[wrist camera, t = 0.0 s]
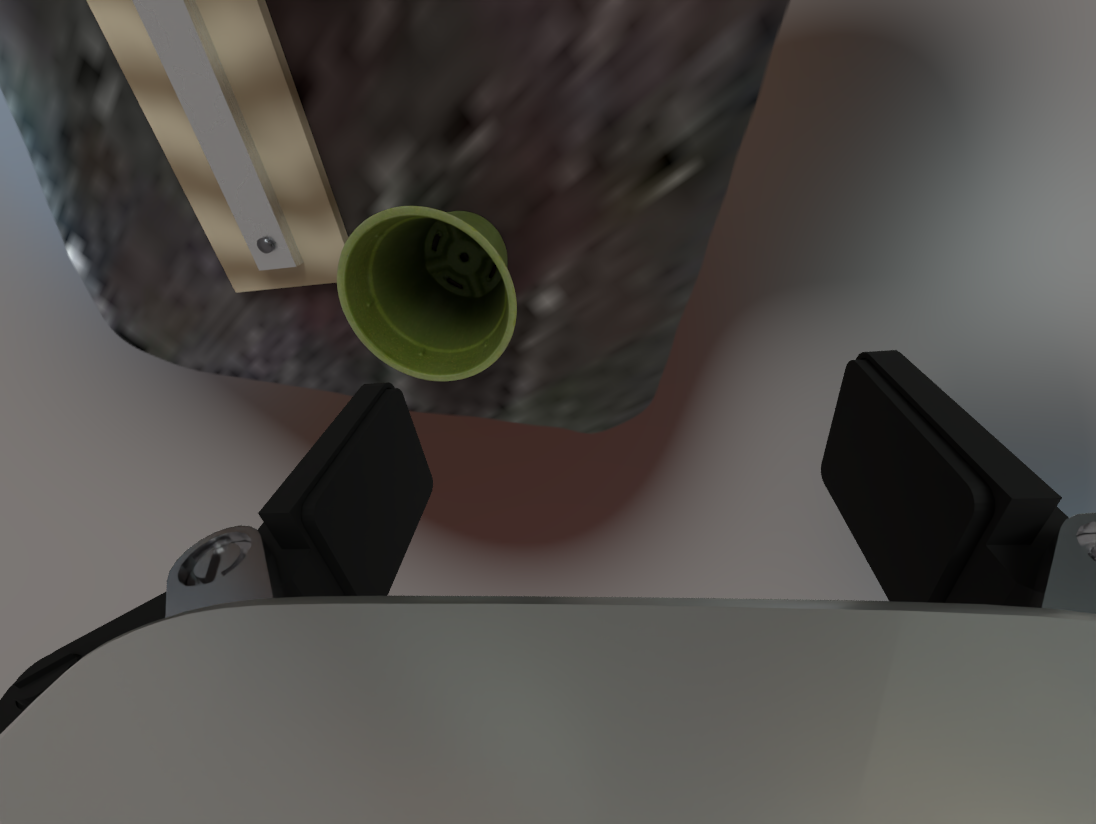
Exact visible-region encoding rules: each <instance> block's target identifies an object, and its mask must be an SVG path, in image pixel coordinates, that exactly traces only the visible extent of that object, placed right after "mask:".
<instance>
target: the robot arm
mask: <svg viewBox="0 0 1096 824" xmlns="http://www.w3.org/2000/svg"><path fill="white" fill-rule="evenodd" d="M821 475H822V479H823V482H824V484H825V486H826V487H827V489H828V491H829V493H830V495H831V496H832V498H833V500H834V502H835V504H836V505H837V507H838V509H839V511H840V513H841V515H842V516H843V518H844V520H845V522H846V524H847V526H848V527H849V529H850V531H851V533H852V534H853V536H854V538H855V540H856V542H857V544H858V545H859V547H860V549H861V551H862V553H863V554H864V556H865V558H866V560H867V562H868V563H869V565H870V567H871V569H872V571H873V572H874V574H875V576H876V578H877V580H878V581H879V583H880V585H881V587H882V589H883V590H884V592H885V594H886V596H887V598H888V600H889V601H852V600H788V599H722V598H721V599H720V598H641V597H637V598H636V597H539V596H538V597H537V596H532V597H531V596H530V597H529V596H387V595H388V593H389V591H390V588H391V586H392V584H393V581H394V579H395V577H396V574H397V572H398V570H399V567H400V565H401V563H402V560H403V558H404V555H405V553H406V551H407V548H408V546H409V544H410V542H411V539H412V537H413V535H414V532H415V530H416V528H417V525H418V523H419V520H420V518H421V516H422V514H423V511H424V509H425V507H426V504H427V502H428V499H429V497H430V495H431V492H432V488H433V480H432V475H431V473H430V470H429V467H428V464H427V461H426V458H425V455H424V453H423V450H422V447H421V444H420V441H419V438H418V436H417V433H416V430H415V427H414V424H413V421H412V419H411V416H410V413H409V410H408V407H407V404H406V401H405V399H404V396H403V393H402V391H401V390H400V389H398V388H394V386H393V385H392V384H391V383H375V384H364V385H363V386H362V387H361V388H360V389H359V390H358V391H357V393H356V394H355V395H354V396H353V397H352V399H351V400H350V401H349V402H348V404H347V405H346V406H345V407H344V409H343V410H342V411H341V412H340V413H339V415H338V416H337V417H336V418H335V420H334V421H333V422H332V423H331V424H330V426H329V427H328V428H327V429H326V431H325V432H324V433H323V434H322V436H321V437H320V438H319V439H318V441H317V442H316V443H315V444H314V445H313V447H312V448H311V449H310V450H309V452H308V453H307V454H306V455H305V457H304V458H303V459H302V460H301V461H300V463H299V464H298V465H297V466H296V467H295V469H294V470H293V471H292V473H291V474H290V475H289V476H288V477H287V478H286V480H285V481H284V482H283V483H282V485H281V486H280V487H279V488H278V490H277V491H276V492H275V493H274V494H273V496H272V497H271V498H270V499H269V501H268V502H267V503H266V504H265V505H264V507H263V508H262V509H261V511H260V512H259V515H260V517H261V518H262V520H263V521H264V523H263V524H262V525H261V526H260V528H259V529H258V530H257V529H255V528H253V527H250V526H234V527H229V528H226V529H223V530H220V531H217V532H215V533H213V534H211V535H209V536H207V537H205V538H203V539H201V540H200V541H198V542H197V543H196V544H194V545H193V546H192V547H190V548H189V549H188V550H186V551H185V552H184V553H183V555H182V556H181V557H179V559H177V561H176V562H175V564H174V565H173V567H172V568H171V570H170V571H169V575H168V579H167V591H166V592H165V593H163V594H161V595H159V596H157V597H155V598H154V599H152V600H150V601H148V602H146V603H144V604H142V605H140V606H138V607H137V608H135V609H133V610H131V611H129V612H127V613H125V614H124V615H122V616H120V617H118V618H116V619H114V620H112V621H111V622H109V623H107V624H105V625H103V626H101V627H99V628H97V629H95V630H94V631H92V632H90V633H88V634H86V635H84V636H82V637H81V638H79V639H77V640H75V641H73V642H71V643H69V644H67V645H66V646H64V647H62V648H60V649H58V650H56V651H55V652H53V653H52V654H50V655H48V656H46V657H44V658H42V659H40V660H39V661H37V662H36V663H34V664H33V665H32V666H30V667H29V668H28V669H27V670H26V671H25V672H24V673H23V674H22V675H21V676H20V677H19V678H18V679H17V681H16V682H15V683H14V684H13V685H12V686H11V687H10V688H9V689H8V690H7V692H6V693H5V694H4V696H3V697H2V698H1V700H0V824H1096V513H1085V514H1077V515H1075V516H1072V517H1070V518H1068V516H1066V515H1065V514H1064V513H1063V512H1062V511H1061V510H1060V509H1059V508H1058V507H1057V504H1058V503H1059V502H1060V500H1061V499H1062V497H1061V496H1059V495H1058V494H1057V493H1056V492H1055V491H1054V490H1053V489H1052V488H1050V487H1049V486H1048V485H1047V484H1046V483H1045V482H1044V481H1043V480H1041V478H1039V477H1038V476H1037V475H1036V474H1035V473H1034V472H1033V471H1032V470H1030V469H1029V468H1028V467H1027V466H1026V465H1025V464H1024V463H1023V462H1022V461H1020V460H1019V459H1018V458H1017V457H1016V456H1015V455H1014V454H1013V453H1012V452H1010V451H1009V450H1008V449H1007V448H1006V447H1005V446H1004V445H1003V444H1001V443H1000V442H999V441H998V440H997V439H996V438H995V437H994V436H993V435H991V434H990V433H989V432H988V431H987V430H986V429H985V428H984V427H983V426H981V425H980V424H979V423H978V422H977V421H976V420H975V419H974V418H972V417H971V416H970V415H969V414H968V413H967V412H966V411H965V410H964V409H962V408H961V407H960V406H959V405H958V404H957V403H956V402H955V401H954V400H952V399H951V398H950V397H949V396H948V395H947V394H946V393H945V392H943V391H942V390H941V389H940V388H939V387H938V386H937V385H936V384H934V383H933V382H932V381H931V380H930V379H929V378H928V377H927V376H926V375H925V374H923V373H922V372H921V371H920V370H919V369H918V368H917V367H916V366H915V365H913V364H912V363H911V362H910V361H909V360H908V359H907V358H906V357H905V356H903V355H902V354H901V353H900V352H898V351H897V350H891V351H877V352H862V353H861V354H859V356H858V357H857V358H856V360H851V361H849V362H848V364H847V366H846V369H845V373H844V377H843V381H842V385H841V388H840V393H839V397H838V401H837V405H836V408H835V413H834V417H833V420H832V424H831V428H830V433H829V436H828V440H827V444H826V448H825V452H824V456H823V460H822V464H821Z"/></svg>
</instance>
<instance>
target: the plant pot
mask: <svg viewBox="0 0 1096 824" xmlns="http://www.w3.org/2000/svg"><path fill="white" fill-rule="evenodd" d="M444 224H445V225H444ZM435 234H438V235H439V236H441V238H440V240H439V242H438V245H437V251H434V250H432V243H433V240H434V237H435ZM462 253H466V254H467V255H468V257H469V259H468V261H466V262H464V261H462V260H461V259H460V255H461V254H462ZM494 263H495V265H496V266H497V267H496V271H495V274H494V276H493V277H492V278H491V279H490V278H489V274H490V273H491V270H492V268H493V265H494ZM447 278H451V279H452V280H453V281H455V282H457V283H459V284H460V285H464V286H463V288H462V289H460V288H458V287H455V286H453V285H451V284H450V283H448V282H447V281H446V279H447ZM337 289H338V295H339V299H340V303H341V306H342V309H343V312H344V314H345V316H346V318H347V320H348V322H349V324H350V326H351V327H352V329H353V331H354V332H355V334H356V335H357V336H358V338H359V339H360V340H361V341H362V343H363V344H364V345H365V346H366V347H367V348H368V349H369V350H370V351H371V352H372V353H373V354H374V355H375V356H377V357H378V358H379V359H380V360H382V361H383V362H385V363H386V364H388V365H389V366H391V367H393V368H394V369H396V370H398V371H400V372H403V373H405V374H407V375H410V376H413V377H416V378H420V379H425V380H431V381H454V380H460V379H464V378H467V377H470V376H473V375H475V374H478V373H480V372H481V371H483V370H485V369H486V368H488V367H489V366H491V365H492V364H493V363H494V362H495V361H496V360H497V359H498V358H499V357H500V356H501V354H502V353H503V352H504V350H505V349H506V347H507V345H508V344H509V342H510V340H511V337H512V335H513V331H514V327H515V322H516V314H517V302H516V294H515V289H514V285H513V282H512V279H511V276H510V273H509V271H508V269H507V251H506V247H505V244H504V242H503V240H502V238H501V236H500V234H499V232H498V231H497V229H496V228H495V227H494V226H493V225H492V224H491V223H490V222H489V221H487V220H486V219H484V218H483V217H481V216H479V215H477V214H474V213H471V212H466V211H452V212H443V211H440V210H437V209H433V208H429V207H422V206H401V207H395V208H390V209H387V210H384V211H381V212H379V213H376V214H374V215H373V216H371V217H369V218H368V219H366V220H365V221H364V222H362V223H361V224H360V225H359V226H358V227H357V228H356V229H355V230H354V231H353V233H352V234H351V235H350V237H349V238H348V239H347V241H346V243H345V245H344V247H343V249H342V252H341V255H340V259H339V263H338V269H337Z"/></svg>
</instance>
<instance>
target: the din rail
mask: <svg viewBox="0 0 1096 824" xmlns="http://www.w3.org/2000/svg"><path fill="white" fill-rule="evenodd" d="M132 1H133V3H134V5H135V7H136V9H137V12H138V14H139V16H140V18H141V20H142V22H143V24H144V26H145V29H146V31H147V33H148V35H149V37H150V39H151V41H152V43H153V46H154V48H155V50H156V52H157V54H158V56H159V58H160V60H161V63H162V65H163V67H164V69H165V71H166V73H167V75H168V78H169V80H170V82H171V84H172V86H173V88H174V90H175V92H176V95H177V97H178V99H179V101H180V103H181V105H182V107H183V109H184V112H185V114H186V116H187V118H188V120H189V122H190V124H191V126H192V129H193V131H194V133H195V135H196V137H197V139H198V141H199V143H200V146H201V148H202V150H203V152H204V154H205V156H206V158H207V160H208V163H209V165H210V167H211V169H212V171H213V173H214V175H215V177H216V180H217V182H218V184H219V186H220V188H221V190H222V192H223V195H224V197H225V199H226V201H227V203H228V205H229V207H230V209H231V212H232V214H233V216H234V218H235V220H236V222H237V224H238V226H239V229H240V231H241V233H242V235H243V237H244V239H245V241H246V243H247V246H248V248H249V250H250V252H251V254H252V256H253V258H254V260H255V263H256V265H257V267H258V269H259V271H261V270H270V269H280V268H289V267H297V266H298V265H300V264H302V263H304V262H303V259H302V257H301V254H300V252H299V250H298V247H297V245H296V242H295V240H294V238H293V235H292V233H291V230H290V228H289V225H288V223H287V221H286V218H285V216H284V213H283V211H282V209H281V206H280V204H279V201H278V199H277V196H276V194H275V192H274V189H273V187H272V184H271V182H270V179H269V177H268V175H267V172H266V170H265V167H264V165H263V163H262V160H261V158H260V155H259V153H258V150H257V148H256V146H255V143H254V141H253V138H252V136H251V134H250V131H249V129H248V126H247V124H246V121H245V119H244V117H243V114H242V112H241V109H240V107H239V105H238V102H237V100H236V97H235V95H234V92H233V90H232V88H231V85H230V83H229V80H228V78H227V76H226V73H225V71H224V68H223V66H222V63H221V61H220V59H219V56H218V54H217V51H216V49H215V46H214V44H213V42H212V39H211V37H210V34H209V32H208V30H207V27H206V25H205V22H204V20H203V17H202V15H201V13H200V10H199V8H198V5H197V3H196V1H195V0H132Z"/></svg>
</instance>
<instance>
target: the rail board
mask: <svg viewBox="0 0 1096 824" xmlns="http://www.w3.org/2000/svg"><path fill="white" fill-rule="evenodd" d="M195 1H196V3H197V5H198V8H199V10H200V13H201V15H202V17H203V20H204V22H205V25H206V27H207V30H208V32H209V34H210V37H211V39H212V42H213V44H214V46H215V49H216V51H217V54H218V56H219V59H220V61H221V63H222V66H223V68H224V71H225V73H226V76H227V78H228V80H229V83H230V85H231V88H232V90H233V92H234V95H235V97H236V100H237V102H238V105H239V107H240V109H241V112H242V114H243V117H244V119H245V121H246V124H247V126H248V129H249V131H250V134H251V136H252V138H253V141H254V143H255V146H256V148H257V150H258V153H259V155H260V158H261V160H262V163H263V165H264V167H265V170H266V172H267V175H268V177H269V179H270V182H271V184H272V187H273V189H274V192H275V194H276V196H277V199H278V201H279V204H280V206H281V209H282V211H283V213H284V216H285V218H286V221H287V223H288V225H289V228H290V230H291V233H292V235H293V238H294V240H295V242H296V245H297V247H298V250H299V252H300V254H301V257H302V259H303V262H304V263H302V264H300V265H298V266H297V267H289V268H280V269H270V270H261V271H259V269H258V267H257V265H256V263H255V260H254V258H253V256H252V254H251V252H250V250H249V248H248V246H247V243H246V241H245V239H244V237H243V235H242V233H241V231H240V229H239V226H238V224H237V222H236V220H235V218H234V216H233V214H232V212H231V209H230V207H229V205H228V203H227V201H226V199H225V197H224V195H223V192H222V190H221V188H220V186H219V184H218V182H217V180H216V177H215V175H214V173H213V171H212V169H211V167H210V165H209V163H208V160H207V158H206V156H205V154H204V152H203V150H202V148H201V146H200V143H199V141H198V139H197V137H196V135H195V133H194V131H193V129H192V126H191V124H190V122H189V120H188V118H187V116H186V114H185V112H184V109H183V107H182V105H181V103H180V101H179V99H178V97H177V95H176V92H175V90H174V88H173V86H172V84H171V82H170V80H169V78H168V75H167V73H166V71H165V69H164V67H163V65H162V63H161V60H160V58H159V56H158V54H157V52H156V50H155V48H154V46H153V43H152V41H151V39H150V37H149V35H148V33H147V31H146V29H145V26H144V24H143V22H142V20H141V18H140V16H139V14H138V12H137V9H136V7H135V5H134V3H133V1H132V0H87V2H88V4H89V6H90V8H91V10H92V12H93V14H94V16H95V18H96V20H97V22H98V24H99V26H100V28H101V30H102V32H103V34H104V36H105V38H106V40H107V41H108V43H109V45H110V47H111V49H112V51H113V53H114V55H115V57H116V59H117V61H118V63H119V65H120V67H121V69H122V71H123V73H124V75H125V77H126V79H127V81H128V83H129V85H130V86H131V88H132V90H133V92H134V94H135V96H136V98H137V100H138V102H139V104H140V106H141V108H142V110H143V112H144V114H145V116H146V118H147V120H148V122H149V124H150V126H151V128H152V130H153V131H154V133H155V135H156V137H157V139H158V141H159V143H160V145H161V147H162V149H163V151H164V153H165V155H166V157H167V159H168V161H169V163H170V165H171V167H172V169H173V171H174V173H175V175H176V176H177V178H178V180H179V182H180V184H181V186H182V188H183V190H184V192H185V194H186V196H187V198H188V200H189V202H190V204H191V206H192V208H193V210H194V212H195V214H196V216H197V218H198V220H199V221H200V223H201V225H202V227H203V229H204V231H205V233H206V235H207V237H208V239H209V241H210V243H211V245H212V247H213V249H214V251H215V253H216V255H217V257H218V259H219V261H220V263H221V265H222V266H223V268H224V270H225V272H226V274H227V276H228V278H229V280H230V282H231V284H232V286H233V288H234V290H235V292H236V293H237V292H247V291H257V290H267V289H277V288H287V287H297V286H307V285H317V284H327V283H337V269H338V263H339V259H340V255H341V252H342V249H343V247H344V245H345V243H346V241H347V239H348V235H347V232H346V229H345V226H344V224H343V221H342V218H341V215H340V212H339V209H338V206H337V204H336V201H335V198H334V195H333V192H332V189H331V187H330V184H329V181H328V178H327V175H326V172H325V169H324V167H323V164H322V161H321V158H320V155H319V152H318V150H317V147H316V144H315V141H314V138H313V135H312V132H311V130H310V127H309V124H308V121H307V118H306V115H305V112H304V110H303V107H302V104H301V101H300V98H299V95H298V93H297V90H296V87H295V84H294V81H293V78H292V75H291V73H290V70H289V67H288V64H287V61H286V58H285V55H284V53H283V50H282V47H281V44H280V41H279V38H278V36H277V33H276V30H275V27H274V24H273V21H272V18H271V16H270V13H269V10H268V7H267V4H266V1H265V0H195Z"/></svg>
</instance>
